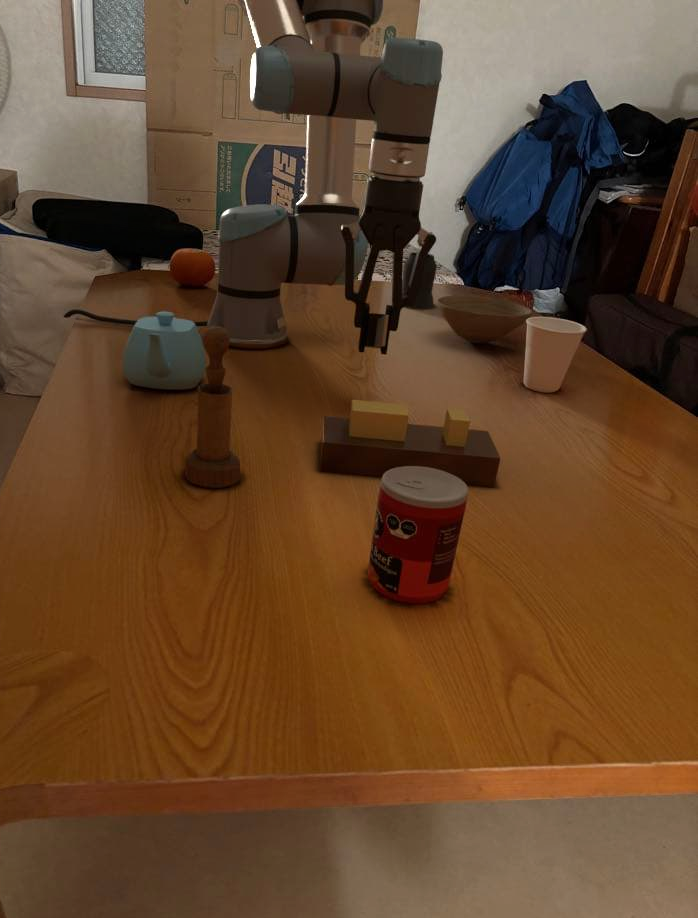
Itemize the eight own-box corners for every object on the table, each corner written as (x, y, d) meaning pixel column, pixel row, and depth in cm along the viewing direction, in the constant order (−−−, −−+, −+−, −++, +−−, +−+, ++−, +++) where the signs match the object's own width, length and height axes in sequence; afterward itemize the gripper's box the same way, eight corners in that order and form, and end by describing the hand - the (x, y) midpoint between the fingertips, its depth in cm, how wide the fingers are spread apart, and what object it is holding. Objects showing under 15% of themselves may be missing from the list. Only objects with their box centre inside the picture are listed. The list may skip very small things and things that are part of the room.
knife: (393, 347, 99) (397, 310, 98) (373, 345, 99) (377, 308, 98) (379, 348, 118) (382, 317, 117) (362, 346, 118) (365, 315, 117)
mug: (434, 310, 180) (443, 260, 174) (395, 306, 180) (402, 256, 175) (431, 299, 190) (439, 251, 185) (394, 295, 191) (401, 247, 185)
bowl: (465, 326, 169) (472, 289, 165) (540, 348, 158) (549, 308, 154) (413, 337, 157) (419, 297, 153) (490, 362, 146) (499, 319, 142)
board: (319, 471, 97) (323, 441, 95) (321, 443, 105) (324, 415, 103) (494, 487, 97) (500, 458, 95) (482, 458, 105) (488, 431, 103)
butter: (349, 436, 98) (352, 410, 96) (348, 425, 101) (352, 399, 99) (404, 441, 98) (408, 415, 96) (402, 429, 101) (406, 404, 99)
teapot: (107, 326, 108) (134, 297, 124) (110, 399, 113) (135, 362, 129) (197, 334, 108) (212, 304, 124) (196, 406, 114) (211, 369, 129)
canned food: (360, 562, 79) (374, 463, 73) (436, 563, 80) (456, 466, 74) (373, 605, 72) (390, 500, 67) (456, 606, 73) (479, 503, 68)
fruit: (163, 286, 179) (163, 250, 175) (176, 278, 188) (177, 243, 184) (208, 292, 178) (209, 255, 174) (219, 283, 187) (220, 248, 183)
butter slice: (445, 445, 98) (450, 419, 96) (442, 433, 101) (447, 408, 99) (464, 447, 98) (470, 421, 96) (460, 435, 101) (465, 409, 99)
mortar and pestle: (247, 472, 95) (255, 326, 86) (227, 493, 90) (233, 339, 81) (198, 461, 97) (201, 317, 88) (175, 481, 92) (175, 329, 83)
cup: (572, 400, 130) (590, 335, 125) (513, 392, 131) (528, 327, 126) (566, 382, 139) (583, 321, 133) (510, 375, 140) (524, 313, 134)
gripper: (337, 174, 99) (319, 353, 111) (458, 186, 100) (427, 363, 112) (337, 168, 106) (319, 338, 118) (450, 179, 106) (421, 347, 118)
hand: (372, 350), depth 115 cm, fingers closed on knife, 3 cm apart
